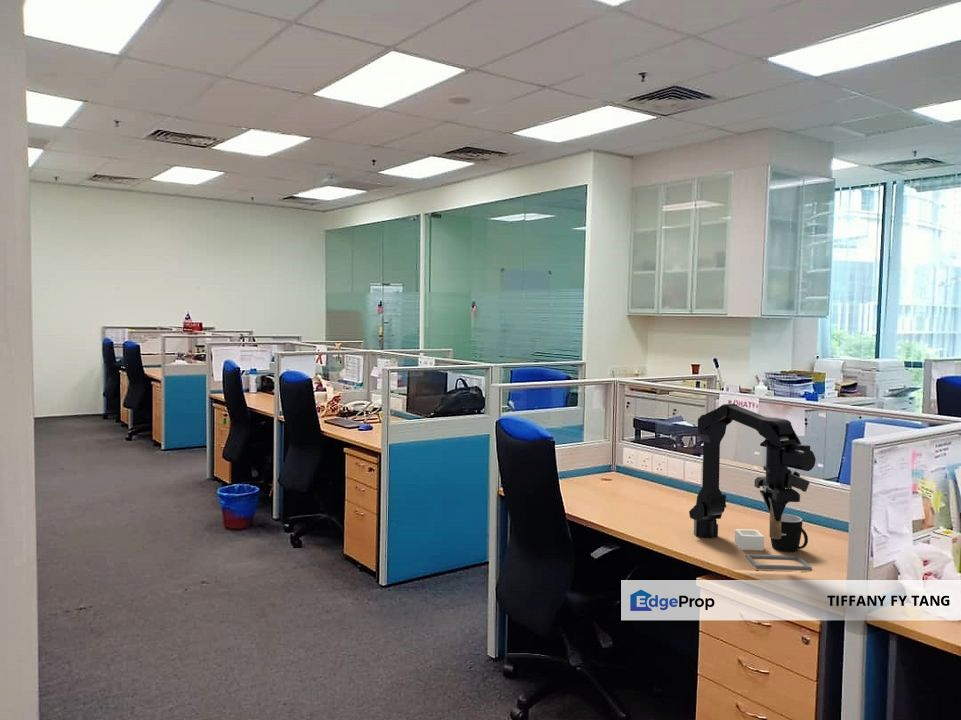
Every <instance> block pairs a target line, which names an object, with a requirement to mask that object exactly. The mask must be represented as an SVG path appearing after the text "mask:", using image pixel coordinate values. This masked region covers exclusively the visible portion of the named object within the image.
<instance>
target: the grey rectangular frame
mask: <svg viewBox="0 0 961 720" xmlns="http://www.w3.org/2000/svg"><path fill="white" fill-rule="evenodd" d="M745 559H747V561H748V562H749V563H750V564H752V566H753V567H754V568H755V571H757V572H760V571H759V570H760V569H761V570H762V571H761V572H773V569H775V570H777V569H778V570H801V572H800V573H806V571H808V570H809V571H812V568H813V567H812V566H811V565H810V564H809V563H808V562H806V561H805V560H804V559H803V558H802V557H801V556H799V555H778V554H777V555H775V554H748V553H747V554H745ZM755 559H766V560H767V559H768V560H769V559H772V560H797V561H798V562H799V563H801V564H802V565H792V564H791V565H787V564H786V565H784V564H782V565H781V564H759V563H757V561H755ZM765 569H766V570H765ZM769 569H772V570H769ZM802 570H805V571H802Z"/></svg>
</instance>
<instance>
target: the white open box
mask: <svg viewBox="0 0 961 720" xmlns="http://www.w3.org/2000/svg"><path fill="white" fill-rule="evenodd" d="M733 543H734V544H735V545H736V547H737V548H739V550H741V551H765V549H764V548H765V535H763V534H762V533H761V532H760V531H759V530H758V529H742V528H741V529H737V528H735V529H734V542H733Z"/></svg>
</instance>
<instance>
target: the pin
mask: <svg viewBox="0 0 961 720" xmlns="http://www.w3.org/2000/svg"><path fill="white" fill-rule="evenodd" d="M781 519H782V516H781ZM781 519H780V521H776V520H775V518H774V515H773V511H772V508H771V505H770V513H769V536H768V537H769V539H771V538H773V539H781Z"/></svg>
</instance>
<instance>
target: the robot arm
mask: <svg viewBox="0 0 961 720" xmlns="http://www.w3.org/2000/svg"><path fill="white" fill-rule="evenodd" d="M733 421H734V422H736V423H740V424H741V425H743V426H746V427H748V428H751V429H753V430H755V431H757V432H758V434H759V436H761V437H763V438H764V440H763V441H762V442H760V444H759V445H760V447H765V449H766V450H765V453H766V454H765V465H763V466H762V467H763V471H765V476H757V477H756V478H755V479H754V487H755V488H756V489H760V488H761V487H762V490H761V489H760V490H759V493H760V495H761V496H762V499H763V502H764V504H765V506H766V508H767V511H768V514H770V505H771V508H772V511H773V515H774V518H775V520H776V521H780V519H781V516H782V514H784V512H785V511H784V510H785V508H786V506H787V504H788V503H800V502H801V494H800V493H799V492H798V491H797V490H795V489H798V490H801V491H802V492H804V493H806V492H807V490H808V487H809V485H810V483H811V481H810V480H807V479H805V478H804V477H801V475H800V473H799V472H798V471H796V470H800V471H804V472H809V471H812V470H813V468H814V467H815V464H816V457H815V453H814V452H813V450H812V449H811V445H807V444H805V445H804V444H802V442H801V441H800V439H799V437H798V435H797V434H796V431H795V430H794V428H793V426H792V422H791V421H790V420H788V419H784V418H778V417H772V416H771V417H769V416H765V415H762V414H759V413H757V412H753V411H751V410H749V409H746V408H743V407H741V406H740V405H738V404H735V403H723V404H722V405H720V406H718V407H717V408H715V409H714V410H711V411H709V412H707V413H706V414H701V415H700V416H699V417H698V419H697V431H698V435H699V437H700V438H701V440H702V444H703V445H702V448H703V449H702V486H701V489H700V490H699V492H698V494H697V496H696V502H695V505H694V506H693V507H692V508H691V509H690V510H689V511H688V514H689V518H690V519H691V520H693V535H694V536H695V537H697V538H701V539H713V538H718V537H719V524H718V523H717V522H718V521H717V520H721V519H722V515H723V513H724V512H725V510H726V508H727V503H726V501H727V495H726V494H723V493H722V490H721V489H720V465H721V464H720V457H721V456H720V455H721V454H720V453H721V442H722V440H723V438H724V436H725V435H726V430H727V426H729V425H730V424H731V423H733ZM790 468H791V469H795V470H791V469H790ZM793 488H795V489H793Z"/></svg>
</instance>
